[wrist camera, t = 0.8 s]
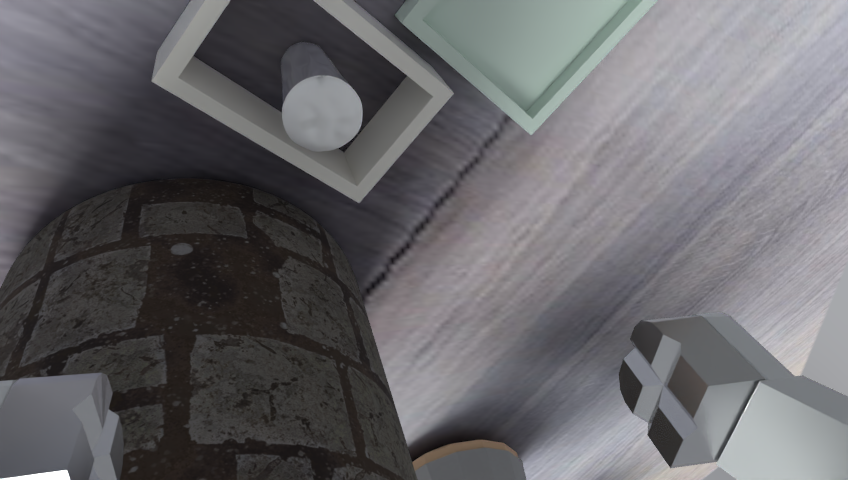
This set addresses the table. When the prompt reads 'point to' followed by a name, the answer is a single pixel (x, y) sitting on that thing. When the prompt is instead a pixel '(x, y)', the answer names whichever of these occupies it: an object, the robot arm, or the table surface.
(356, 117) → the milkshake
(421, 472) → the desk lamp
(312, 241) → the planter
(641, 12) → the tray
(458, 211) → the table surface
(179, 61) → the frame
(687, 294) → the table surface
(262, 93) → the table surface
